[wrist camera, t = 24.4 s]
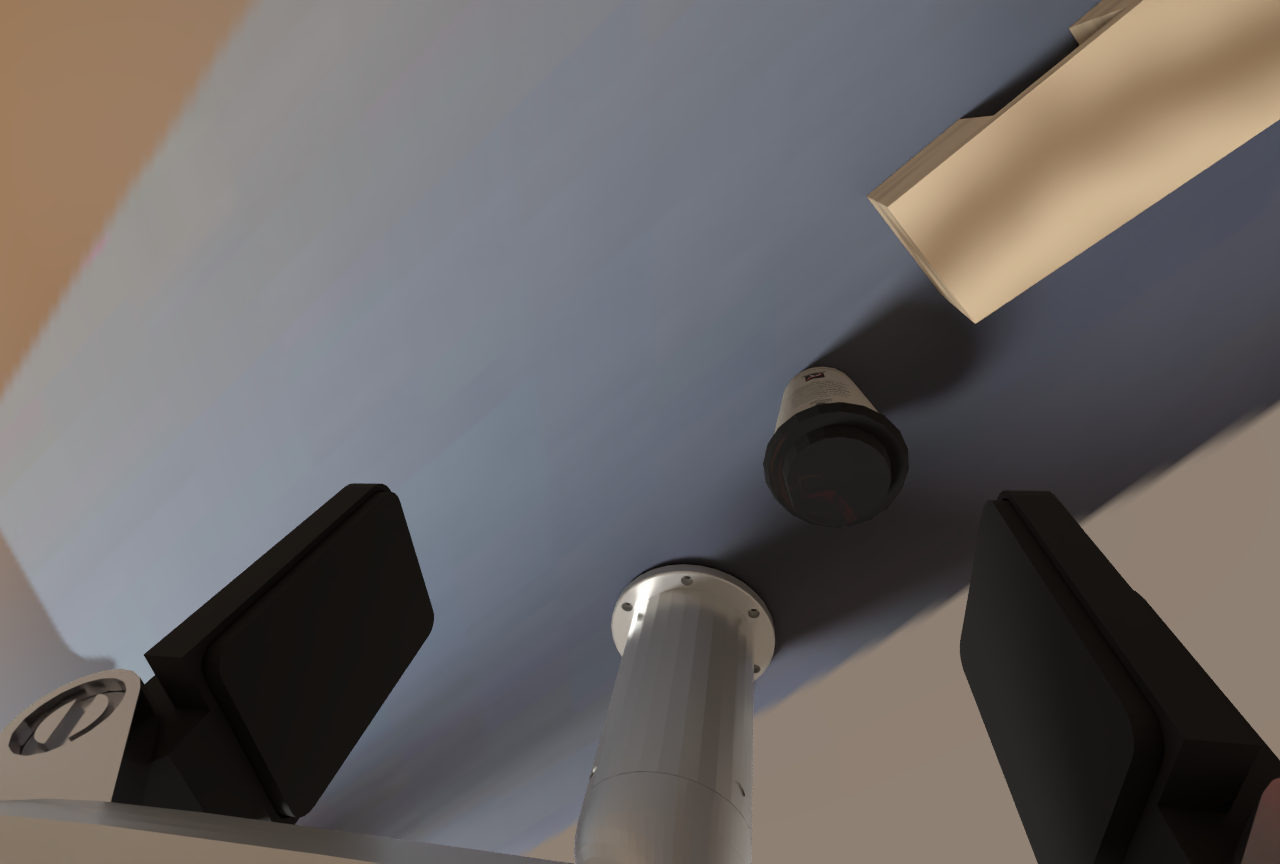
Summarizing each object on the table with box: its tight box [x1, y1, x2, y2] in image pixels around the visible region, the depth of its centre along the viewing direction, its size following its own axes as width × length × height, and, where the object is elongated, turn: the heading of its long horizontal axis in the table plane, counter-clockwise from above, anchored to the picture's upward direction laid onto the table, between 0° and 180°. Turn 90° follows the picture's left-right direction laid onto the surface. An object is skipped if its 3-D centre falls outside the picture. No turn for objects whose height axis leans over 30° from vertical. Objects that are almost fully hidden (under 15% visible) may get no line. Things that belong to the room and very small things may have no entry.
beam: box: [867, 0, 1280, 324], centre depth 27 cm, size 7×16×6 cm, turn 133°
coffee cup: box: [763, 366, 909, 528], centre depth 33 cm, size 7×7×10 cm
